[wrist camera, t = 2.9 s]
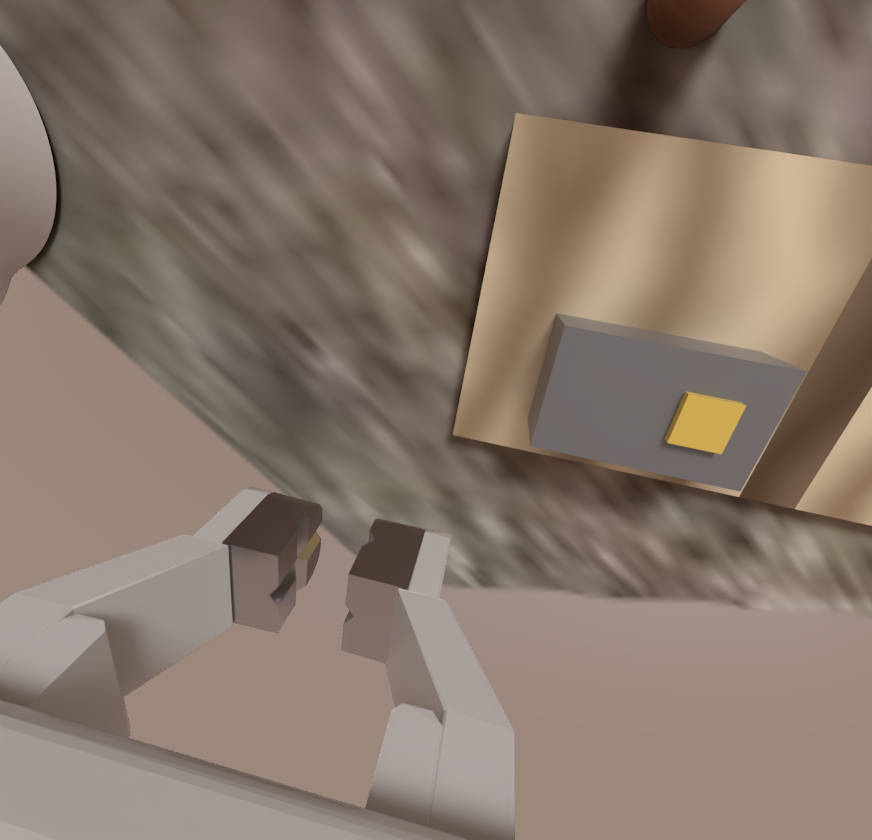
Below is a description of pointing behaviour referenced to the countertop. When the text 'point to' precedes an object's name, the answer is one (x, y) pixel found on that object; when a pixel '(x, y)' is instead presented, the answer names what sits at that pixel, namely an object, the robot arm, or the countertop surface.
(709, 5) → the awl
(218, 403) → the countertop surface
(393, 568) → the robot arm
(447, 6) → the countertop surface
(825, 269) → the subfloor panel
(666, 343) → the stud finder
